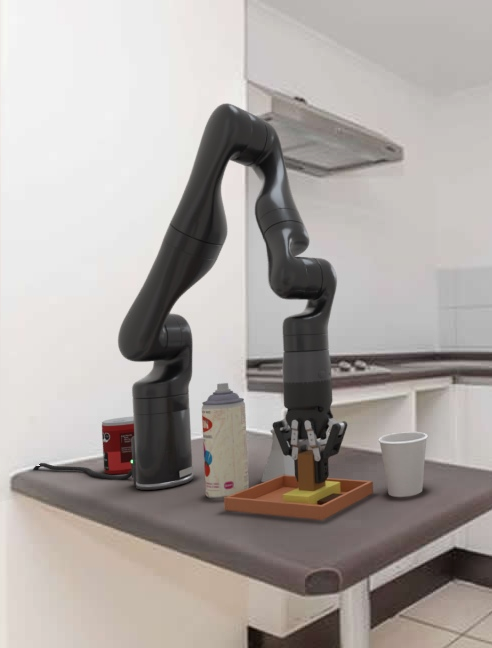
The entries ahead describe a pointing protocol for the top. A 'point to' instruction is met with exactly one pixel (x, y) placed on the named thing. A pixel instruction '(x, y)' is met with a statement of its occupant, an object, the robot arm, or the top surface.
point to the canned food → (117, 444)
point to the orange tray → (271, 502)
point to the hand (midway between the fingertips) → (311, 481)
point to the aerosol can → (224, 443)
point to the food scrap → (328, 498)
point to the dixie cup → (404, 462)
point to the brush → (309, 483)
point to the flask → (278, 462)
